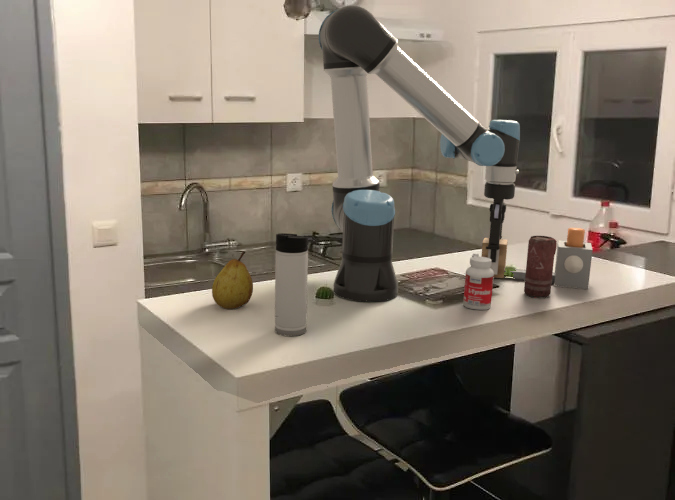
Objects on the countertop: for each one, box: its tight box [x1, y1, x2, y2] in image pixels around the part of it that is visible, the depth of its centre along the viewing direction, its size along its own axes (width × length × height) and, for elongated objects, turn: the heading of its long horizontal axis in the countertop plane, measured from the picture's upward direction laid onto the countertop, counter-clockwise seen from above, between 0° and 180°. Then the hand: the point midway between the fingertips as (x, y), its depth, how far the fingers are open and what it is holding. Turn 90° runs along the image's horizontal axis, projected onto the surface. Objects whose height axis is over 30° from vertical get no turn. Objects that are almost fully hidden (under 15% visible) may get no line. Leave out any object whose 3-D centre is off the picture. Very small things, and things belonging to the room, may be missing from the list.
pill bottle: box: [462, 256, 495, 311], centre depth 163 cm, size 6×6×11 cm
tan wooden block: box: [480, 237, 509, 279], centre depth 189 cm, size 6×6×9 cm
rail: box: [471, 253, 555, 284], centre depth 188 cm, size 21×3×5 cm, turn 75°
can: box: [523, 235, 558, 299], centre depth 173 cm, size 6×6×14 cm
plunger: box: [566, 227, 586, 248], centre depth 183 cm, size 4×4×6 cm
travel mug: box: [274, 232, 309, 337], centre depth 142 cm, size 6×7×20 cm
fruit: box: [211, 251, 254, 310], centre depth 158 cm, size 9×9×12 cm
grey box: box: [553, 239, 593, 290], centre depth 184 cm, size 8×8×10 cm
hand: (492, 270), depth 190 cm, fingers closed on tan wooden block, 6 cm apart
